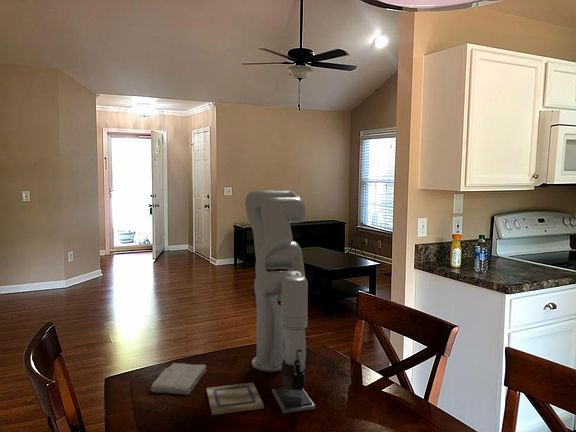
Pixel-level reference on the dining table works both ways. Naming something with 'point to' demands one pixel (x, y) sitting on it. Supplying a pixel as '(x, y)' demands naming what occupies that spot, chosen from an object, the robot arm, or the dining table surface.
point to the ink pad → (293, 400)
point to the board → (233, 398)
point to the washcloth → (178, 378)
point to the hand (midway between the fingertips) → (293, 381)
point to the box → (288, 376)
